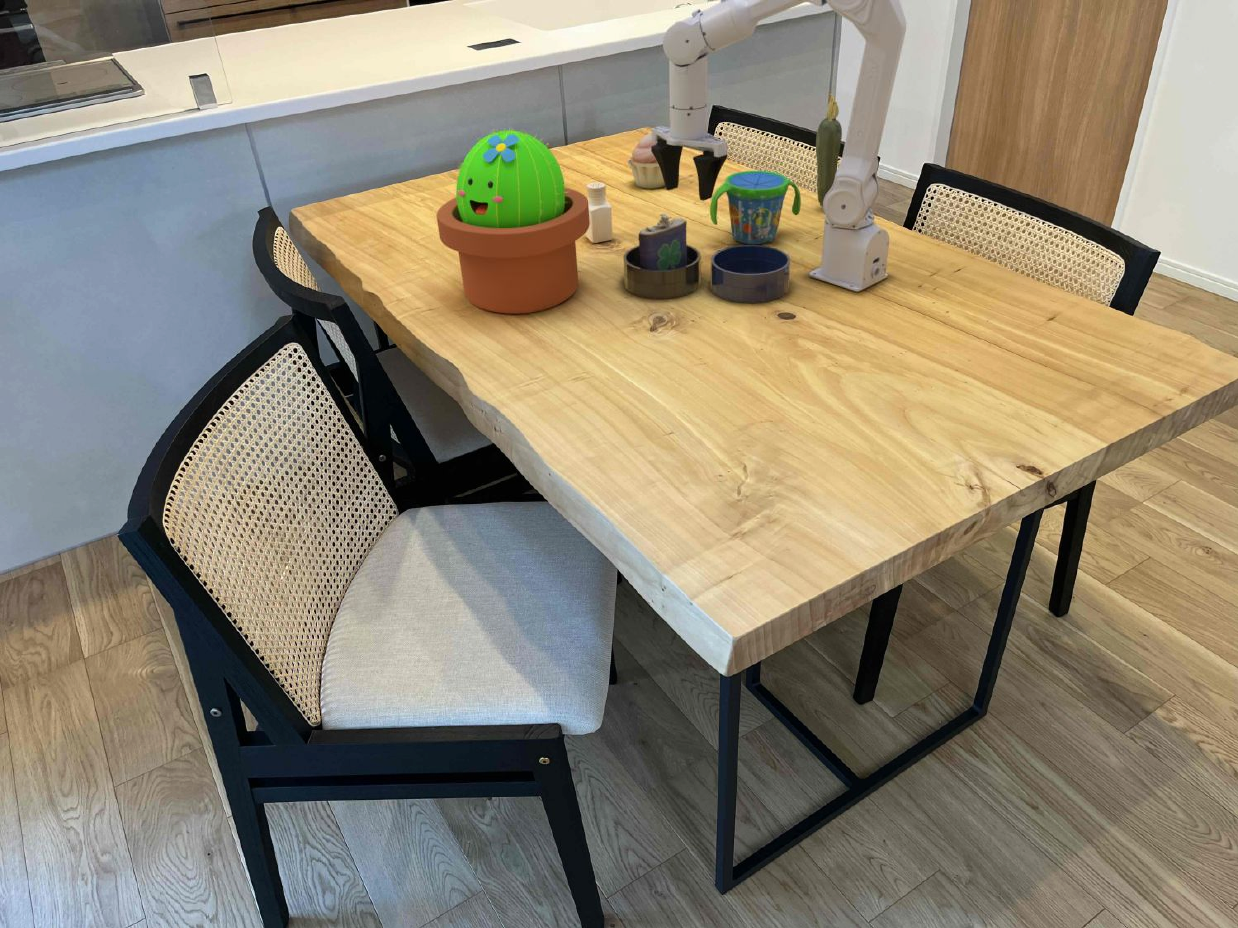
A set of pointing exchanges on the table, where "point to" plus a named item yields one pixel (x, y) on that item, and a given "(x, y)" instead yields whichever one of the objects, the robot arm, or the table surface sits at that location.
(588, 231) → the pepper shaker
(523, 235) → the potted cactus
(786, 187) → the snack cup
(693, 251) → the charcoal bowl
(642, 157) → the cupcake
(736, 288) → the indigo bowl
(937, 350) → the table surface
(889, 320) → the table surface
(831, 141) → the vegetable
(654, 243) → the flask
